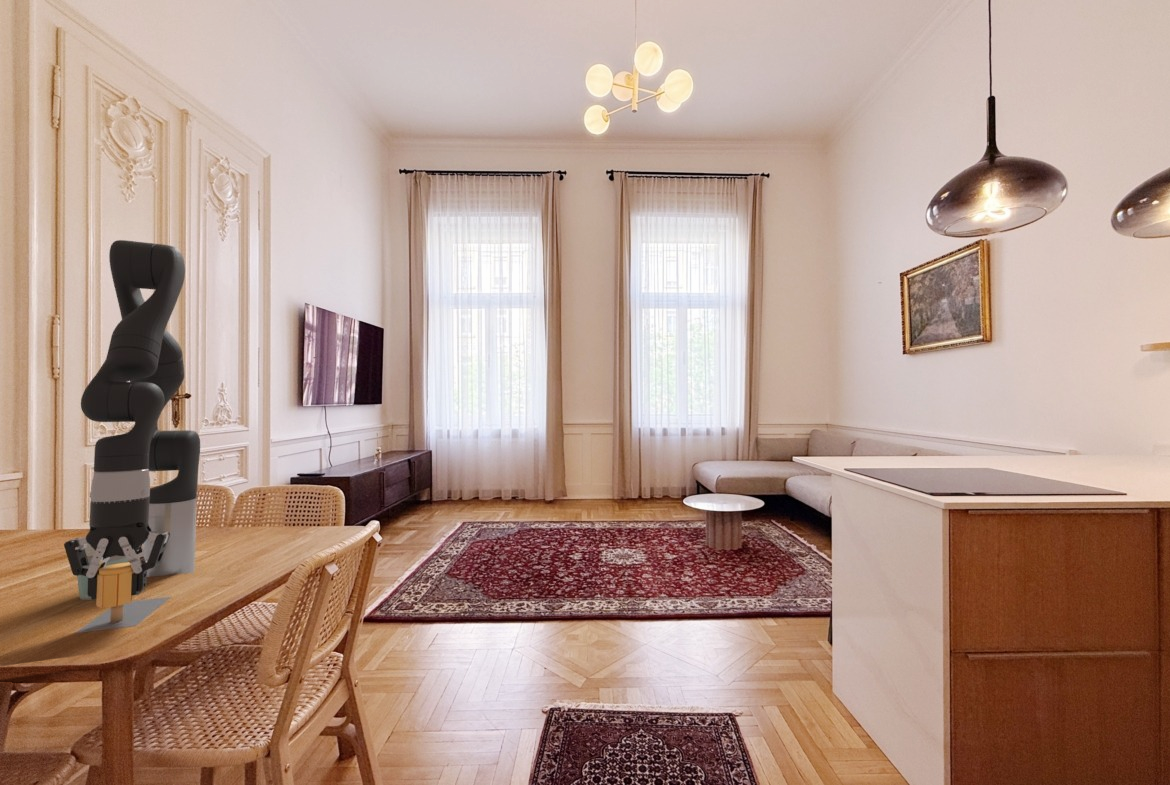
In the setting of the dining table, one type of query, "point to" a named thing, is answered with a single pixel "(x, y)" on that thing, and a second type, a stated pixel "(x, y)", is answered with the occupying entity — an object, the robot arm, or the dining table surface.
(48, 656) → the dining table surface
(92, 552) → the coffee cup
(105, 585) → the wire nut
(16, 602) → the dining table surface
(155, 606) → the board
